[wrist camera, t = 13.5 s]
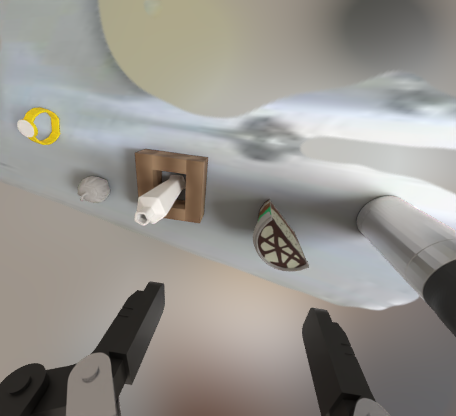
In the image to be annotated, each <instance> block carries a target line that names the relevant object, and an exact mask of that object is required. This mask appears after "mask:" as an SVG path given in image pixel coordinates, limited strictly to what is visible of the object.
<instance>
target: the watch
mask: <svg viewBox="0 0 456 416" xmlns="http://www.w3.org/2000/svg"><path fill="white" fill-rule="evenodd" d="M44 112H47V113H48V114H49V116H50V117H51V124H52V132H51V134H50V136H49V137H48V138H46V139H45V140H37V138H36V137H35V136H37V134H38V130H37V127H36V125H35V124H34V123H33V122H34V120H35V117H36V116H38V115H39V114H40V113H44ZM17 126H18V129H19V131H20V132H21V133H22V134H23V135H24V136H26V137H28V138H29V139H30V140H32V141H34V142H36V143H39V144H42V145H50V144H52V143H53V142H55V141H56V140H57V139H58V137H59V135H60V128H59V118H58V117H57V115H56V114H55V113H53V112H51V111H49V110H47V109H44V108H41V107H40V108H32V109H31V110H30V111H28V112H27V113H26V115H25V117H24V119H21V120H19V121H18V123H17Z"/></svg>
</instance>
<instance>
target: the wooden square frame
mask: <svg viewBox="0 0 456 416" xmlns="http://www.w3.org/2000/svg"><path fill="white" fill-rule="evenodd" d="M135 162H136V174H137V186H138V198H139V197H140V196H142V195H144V194H145V193H147V192H148V191H150V190H152V189H153V188H155V187H157V186H158V185H160V184H162V171H167V172H174V173H182V174H186V196H185V200H178V199H176V200H175V202H174V204H173V205H172V207H171V209H170V210H169V212H168V214H167V215H166V216H165V217H164V218H167V219H174V220H181V221H188V222H194V223H200V222H201V220H202V218H203V215H204V208H205V194H206V180H207V166H208V157H201V156H194V155H186V154H179V153H172V152H165V151H157V150H150V149H144V150H141V151H138V152H135Z"/></svg>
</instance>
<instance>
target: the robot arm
mask: <svg viewBox="0 0 456 416" xmlns="http://www.w3.org/2000/svg"><path fill="white" fill-rule="evenodd" d="M357 227H358V229H359V231H360V232H361V233H362V234H363V235H364V236H365V237H366V238H367V239H368V240H369V241H370V243H371V244H372V245H373V246H374V247H375V248H376V249H377V250H378V251H379V252H380V253H381V255H382V256H383V257H384V258H385V259H386V260H387V261H388V262H389V263H390V264H391V265H392V266H393V268H394V269H395V270H396V271H397V272H398V273H399V274H400V275H401V276H402V277H403V278H404V279H405V280H406V282H407V283H408V284H409V285H410V286H411V287H412V288H413V289H414V290H415V291H416V292H417V293H418V294H419V295H420V297H421V298H422V299H423V300H424V301H425V302H426V303H427V304H428V305H429V306H430V307H431V308H432V309H433V310H434V311H435V313H436V314H437V316H438V317H439V318H440V319H441V321H442V322H443V323H444V324H445V325H446V327H447V328H448V329H449V330H450V331H451V332H452V333H453V334H454V336H455V337H456V230H454V229H453V228H451V227H449V226H447V225H446V224H444V223H442V222H440V221H439V220H437V219H435V218H433V217H432V216H430V215H428V214H427V213H425V212H423V211H421V210H420V209H418V208H416V207H415V206H413V205H411V204H409V203H408V202H406V201H404V200H402V199H401V198H398V197H395V196H383V197H379V198H376V199H374V200H372V201H370V202H369V203H367V204H366V205H365V206H364V207H363V208H362V209H361V211H360V212H359V214H358V217H357ZM164 305H165V296H164V284H163V283H157V282H149V283H148V284H147V286H146V288H145V290H144V291H139V290H137V291H136V292H135V293H134V294H132V295H131V296H130V297H129V298H128V299H127V301H126V302H125V304H124V306H123V307H122V309H121V310H120V312H119V313H118V315H117V317H116V318H115V319H114V321H113V323H112V324H111V326H110V327H109V329H108V330H107V332H106V334H105V335H104V336H103V338H102V340H101V341H100V343H99V344H98V346H97V347H96V349H95V350H94V351H93V352H92V353H91V354H90V355H88V356H86V357H85V358H83V359H82V360H81V361H79V362H78V363H77V364H74V365H70V366H66V367H60V368H55V369H50V370H45V368H44V366H43V365H41V364H38V363H34V364H28V365H25V366H23V367H21V368H19V369H17V370H15V371H14V372H12V373H11V374H10V375H8V376H7V377H6V378H5V379H4V380H3V381H2V382H1V384H0V416H121V410H120V402H119V395H120V393H121V390H122V388H123V386H124V384H130V385H132V383H133V381H134V379H135V376H136V374H137V372H138V369H139V367H140V364H141V362H142V360H143V358H144V355H145V353H146V350H147V348H148V346H149V343H150V341H151V339H152V337H153V334H154V332H155V329H156V327H157V325H158V323H159V320H160V318H161V315H162V313H163V310H164ZM302 336H303V341H304V345H305V349H306V354H307V358H308V362H309V366H310V370H311V374H312V379H313V383H314V387H315V391H316V395H317V400H318V404H319V408H320V412H321V416H390V415H389V414H388V413H387V411H386V410H385V409H384V408H383V407H381V406H380V405H379V404H378V403H377V402H376V401H375V399H374V397H373V395H372V393H371V391H370V389H369V386H368V384H367V381H366V379H365V377H364V374H363V372H362V370H361V368H360V365H359V363H358V361H357V359H356V357H355V354H354V352H353V349H352V347H351V345H350V343H349V340H348V338H347V336H346V333H345V332H344V331H343V330H342V328H341V327H340V326H339V324H338V323H335V322H332V320H331V318H330V315H329V313H328V312H327V310H323V309H316V308H311V309H310V310H309V313H308V316H307V317H306V320H305V322H304V324H303V328H302Z"/></svg>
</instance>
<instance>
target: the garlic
mask: <svg viewBox="0 0 456 416" xmlns="http://www.w3.org/2000/svg"><path fill="white" fill-rule="evenodd" d="M109 193H110V188H109V186H108V181H107V180H105V179H102V178H100V177H93V176H89V177H86V178H84V179H83V180H82V181H81V182H80V184H79V186H78V195H79V196H81V199H80V201H83V199H84V200H86V201H89V202H92V203H99V202H103V201H104V200H105V199H106V198H107V197H108V196H109Z"/></svg>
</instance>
